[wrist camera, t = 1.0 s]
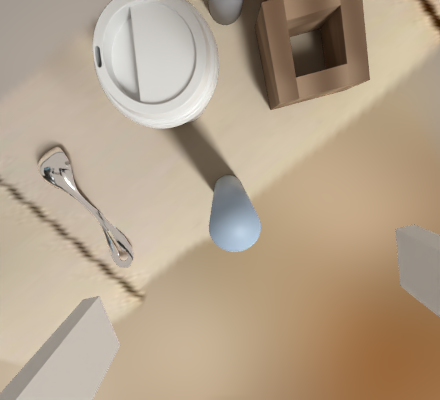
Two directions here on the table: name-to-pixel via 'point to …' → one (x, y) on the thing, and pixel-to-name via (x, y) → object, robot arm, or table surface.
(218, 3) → the short dowel
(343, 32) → the socket block
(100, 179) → the table surface
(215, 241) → the tall dowel
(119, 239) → the silver metal utensil
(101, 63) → the coffee cup
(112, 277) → the table surface
